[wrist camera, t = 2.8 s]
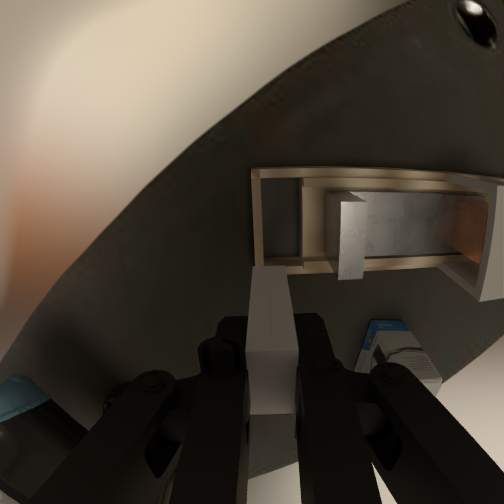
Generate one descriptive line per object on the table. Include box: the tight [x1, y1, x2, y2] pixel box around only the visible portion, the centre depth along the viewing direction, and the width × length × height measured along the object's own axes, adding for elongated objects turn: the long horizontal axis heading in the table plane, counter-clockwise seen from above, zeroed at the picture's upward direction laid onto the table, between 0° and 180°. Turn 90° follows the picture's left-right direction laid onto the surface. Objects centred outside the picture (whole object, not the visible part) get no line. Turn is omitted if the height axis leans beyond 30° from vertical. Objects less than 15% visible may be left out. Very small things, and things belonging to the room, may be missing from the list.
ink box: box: [354, 320, 442, 396], centre depth 31 cm, size 8×5×12 cm, turn 173°
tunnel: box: [437, 173, 504, 302], centre depth 24 cm, size 6×10×8 cm, turn 3°
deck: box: [251, 166, 504, 274], centre depth 29 cm, size 34×10×4 cm, turn 93°
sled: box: [324, 190, 489, 280], centre depth 25 cm, size 18×6×6 cm, turn 93°
